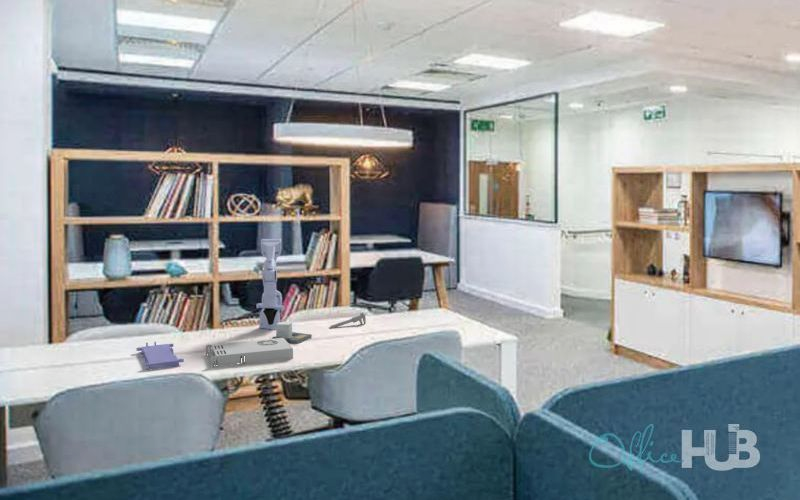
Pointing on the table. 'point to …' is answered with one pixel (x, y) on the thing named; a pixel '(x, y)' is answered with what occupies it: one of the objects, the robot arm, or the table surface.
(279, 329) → the skincare box
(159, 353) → the computer part
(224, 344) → the power supply unit
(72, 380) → the table surface
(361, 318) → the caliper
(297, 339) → the u bracket
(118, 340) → the table surface
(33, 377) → the table surface
